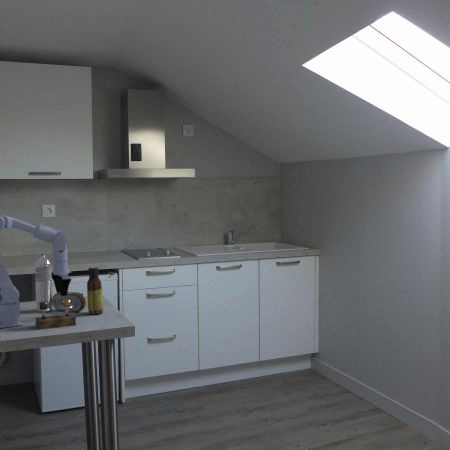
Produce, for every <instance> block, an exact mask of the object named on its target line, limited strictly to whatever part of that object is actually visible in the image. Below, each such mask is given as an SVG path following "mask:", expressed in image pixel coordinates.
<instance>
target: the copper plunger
mask: <svg viewBox="0 0 450 450" xmlns="http://www.w3.org/2000/svg"><path fill="white" fill-rule="evenodd" d="M60 308H61V309H65V311H64V314H65V316H69V314H70V312H69V311H68V309H72V308H73V305H71V300H70V299H65V300H63V305H62V306H60Z"/></svg>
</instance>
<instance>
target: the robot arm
mask: <svg viewBox="0 0 450 450" xmlns="http://www.w3.org/2000/svg"><path fill="white" fill-rule="evenodd" d="M4 228H5V229H7V230H8V229H11V228H14V229H18V230H20V231H23V232H24V231H25V232H28V233H31V234H32V235H33V237H34V238H35V239H38V240H40V241H44V242H46V243H52V264H53V266H52V267H53V269H52V270H53V272H52V276H51V277H52V282H53V284H54V287H55V291H56V293H59V292H60V293H61V296H67V292H69V286H70V284H71V282H72V278H71V277H69V274H70V273H71V274H72V271H71V270H69V263H68V261H69V259H68V248H67V247H68V245H67V244H68V243H69V237H68V235H67V234H66V233H64V232H63V231H61V230H58V228H52V227H50V226H47V224H45V223H42V224H40V223H38V224H37V225H34V224H31V223H29V222H26V221H23V220H20V219H18V218H15V217H12V216H8V215H4V214H1V215H0V232H1V231H2V230H3V229H4ZM0 296H1V300H0V329H5V328H12V327H20V326H23V323H22V321H21V307H20V300H19V298H20V292H19V290H18V289H17V288H16V286H15V285H14V284H13V281H12V279H11V278H10V276H9V273H8V271H7V269H6V267H5V264H4V262H3V259H2V257H1V255H0Z"/></svg>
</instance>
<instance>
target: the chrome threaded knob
mask: <svg viewBox="0 0 450 450" xmlns="http://www.w3.org/2000/svg"><path fill="white" fill-rule="evenodd" d="M39 305H40V308H38V309H37V310H36V312H38V313H41V317H42V319H45V316H46V313H47V312H46V311H49V312H51V311H50V308H49V307H48V302H39Z"/></svg>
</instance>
